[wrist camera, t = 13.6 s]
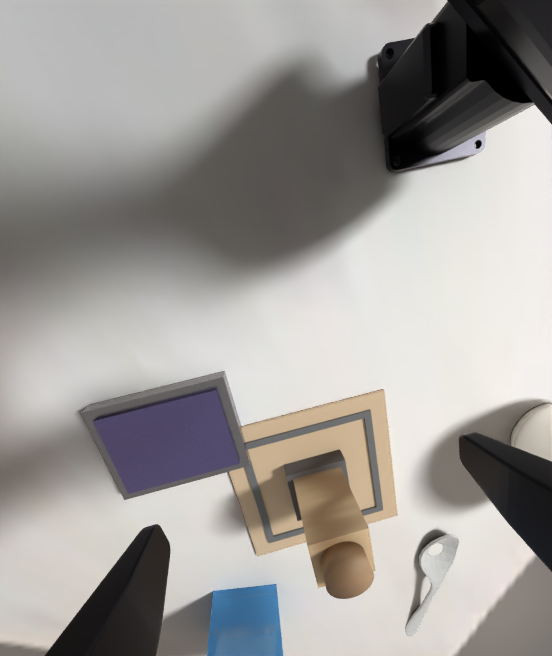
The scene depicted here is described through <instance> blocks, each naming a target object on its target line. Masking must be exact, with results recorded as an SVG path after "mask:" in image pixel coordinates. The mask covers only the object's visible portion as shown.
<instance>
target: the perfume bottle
mask: <svg viewBox="0 0 552 656" xmlns="http://www.w3.org/2000/svg"><path fill="white" fill-rule="evenodd" d="M207 656H283V649H282V639H281V629H280V618H279V608H278V598H277V587H276V584H273V585H264V586H255V587H246V588H237V589H228V590H219V591H213V599H212V610H211V620H210V631H209V642H208V652H207Z"/></svg>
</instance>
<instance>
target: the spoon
mask: <svg viewBox="0 0 552 656" xmlns="http://www.w3.org/2000/svg"><path fill="white" fill-rule="evenodd" d="M437 543H440V544H442V545H443V550H442V552H441V553H440V554H438V555H436V556H432V555H429V554H428V552H429V549H430V547H431V546H432V545H434V544H437ZM458 543H459V540H458V537H457V536H456V535H453V534H448V535H445V536H442V537H439V538H437V539H435V540H433V541H431V542H430V543H429V544H428V545H427V546H426V547H425V548H424V549H423V550H422V551H421V553H420V555H419V565H420V567H421V569H422V571H423V572H424V573H425V574H426V576H427V577H428V578H429V580H430V582H431V587H430V590H429V591H428V593H427V595H426V597H425V599H424V600H423V602H422V604H421V605H420V607H419V608H418V609H417V610H416V611H415V612H414V614H413V615H412V616H411V617H410V619H409V621H408V623H407V625H406V628H405V632H406V635H407V636H412V635H414V634H415V633H416V631H417V630H418V629H419V627H420V624H421V622H422V620H423V618H424V615H425V613H426V611H427V609H428V607H429V604H430V602H431V600H432V598H433V596H434V595H435V593H436V592H437V590H438V589H439V587H440V585H441V583H442V581H443V579H444V577H445V575H446V574H447V572H448V570H449V568H450V567H451V565H452V563H453V560H454V558H455V554H456V551H457V547H458Z"/></svg>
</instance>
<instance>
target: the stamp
mask: <svg viewBox="0 0 552 656" xmlns="http://www.w3.org/2000/svg"><path fill="white" fill-rule="evenodd" d="M284 469H285V475H286V479H287V483H288V487H289V490H290V494H291V498H292V502H293V506H294V510H295V513H296V517H297V521H300V520H302V523H303V527H304V532H305V536H306V541H307V546H308V550H309V553H310V557H311V561H312V565H313V569H314V573H315V577H316V581H317V585H318V588H320V587H323V586H326V589H327V591H328V593H329V594H330V595H331V596H333V597H335V598H339V599H348V598H352V597H355V596H358V595H360V594H362V593H363V592H365V591H366V590H367V589H368V588H369V587H370V586H371V584H372V582H373V579H374V573H373V571H375V565H374V559H373V553H372V546H371V540H370V533H369V528H368V525H367V523H366V521H365V519H364V517H363V515H362V512H361V510H360V508H359V506H358V504H357V502H356V499H355V497H354V495H353V493H352V491H351V489H350V485H349V479H348V473H347V467H346V462H345V458H344V456H343V454H342V452H341V450H340V449H339V450H335V451H332V452H328V453H324V454H321V455H317V456H313V457H310V458H306V459H302V460H299V461H295V462H292V463H288V464H284Z"/></svg>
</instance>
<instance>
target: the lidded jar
mask: <svg viewBox="0 0 552 656" xmlns="http://www.w3.org/2000/svg"><path fill="white" fill-rule="evenodd" d="M510 443H511V446H513V447H516V448H519V449H521V450H524V451H526V452H529V453H532V454H534V455H537V456H539V457H542V458H544V459H547V460H550V461H552V404H543V405H540V406H537V407H535V408H533V409H532V410H530V411H529V412H527V413H526V414H525V415H524V416H523V417H522V418H521V419H520V420H519V421H518V422H517V424H516V425H515V427H514V429H513V431H512V434H511V442H510Z"/></svg>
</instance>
